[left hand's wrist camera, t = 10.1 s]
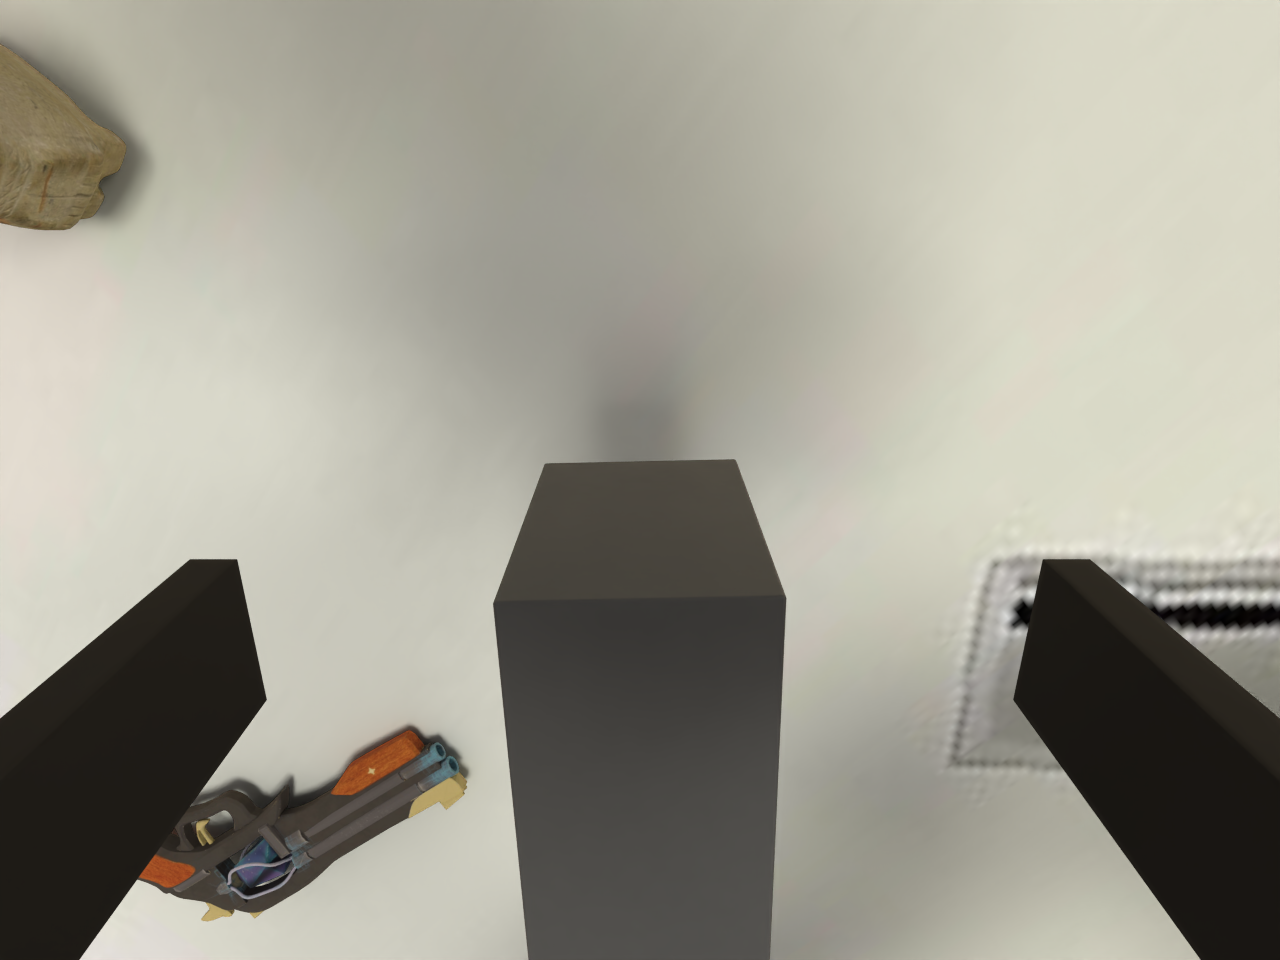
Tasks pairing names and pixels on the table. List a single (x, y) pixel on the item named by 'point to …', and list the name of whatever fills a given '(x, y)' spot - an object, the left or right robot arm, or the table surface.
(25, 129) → the sculpture
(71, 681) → the left robot arm
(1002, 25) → the table surface
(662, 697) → the bar
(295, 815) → the toy gun
